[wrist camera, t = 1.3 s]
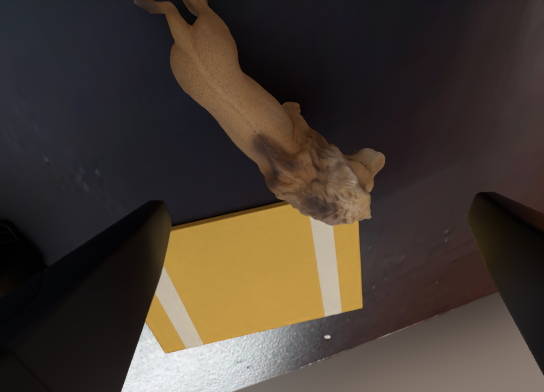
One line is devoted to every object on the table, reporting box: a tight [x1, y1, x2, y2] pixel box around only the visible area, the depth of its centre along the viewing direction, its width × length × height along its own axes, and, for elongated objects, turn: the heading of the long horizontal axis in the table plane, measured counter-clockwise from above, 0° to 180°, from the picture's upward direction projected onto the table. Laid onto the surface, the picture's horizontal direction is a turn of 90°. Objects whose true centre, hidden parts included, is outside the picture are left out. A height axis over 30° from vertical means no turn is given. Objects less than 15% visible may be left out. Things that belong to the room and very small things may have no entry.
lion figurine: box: [134, 0, 385, 226], centre depth 16 cm, size 15×5×9 cm, turn 50°
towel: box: [145, 201, 362, 353], centre depth 28 cm, size 20×14×1 cm
